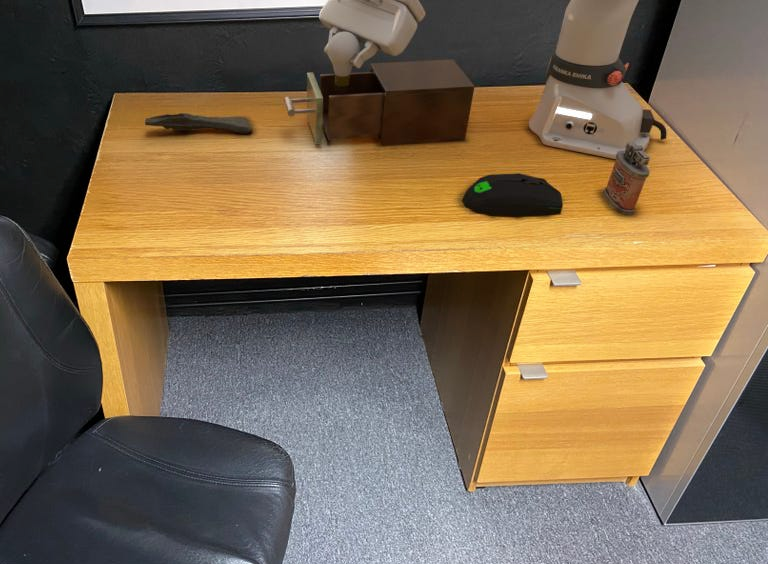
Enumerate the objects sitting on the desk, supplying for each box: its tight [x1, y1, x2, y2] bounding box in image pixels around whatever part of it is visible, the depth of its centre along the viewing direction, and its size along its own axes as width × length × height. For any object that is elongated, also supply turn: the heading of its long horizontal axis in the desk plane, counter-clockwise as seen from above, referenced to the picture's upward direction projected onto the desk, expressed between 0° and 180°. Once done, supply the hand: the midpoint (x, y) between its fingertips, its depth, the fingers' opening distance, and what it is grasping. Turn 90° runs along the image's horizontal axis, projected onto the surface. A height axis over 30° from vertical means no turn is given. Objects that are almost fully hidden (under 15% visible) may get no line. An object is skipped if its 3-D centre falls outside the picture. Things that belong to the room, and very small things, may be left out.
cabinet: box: [369, 59, 476, 147], centre depth 135 cm, size 17×14×11 cm
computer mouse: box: [461, 172, 564, 218], centre depth 117 cm, size 11×16×4 cm
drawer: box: [283, 71, 385, 145], centre depth 133 cm, size 20×12×9 cm, turn 97°
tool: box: [144, 112, 253, 134], centre depth 137 cm, size 21×8×3 cm, turn 101°
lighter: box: [602, 142, 651, 216], centre depth 113 cm, size 8×3×10 cm, turn 5°
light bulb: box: [327, 32, 361, 89], centre depth 127 cm, size 6×6×10 cm
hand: (341, 59), depth 127 cm, fingers closed on light bulb, 6 cm apart
